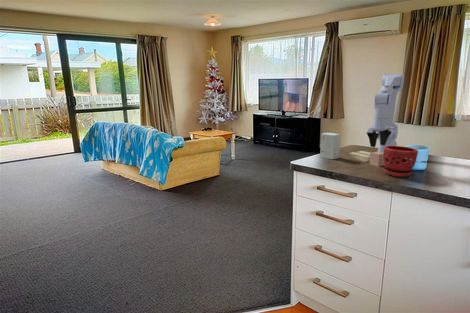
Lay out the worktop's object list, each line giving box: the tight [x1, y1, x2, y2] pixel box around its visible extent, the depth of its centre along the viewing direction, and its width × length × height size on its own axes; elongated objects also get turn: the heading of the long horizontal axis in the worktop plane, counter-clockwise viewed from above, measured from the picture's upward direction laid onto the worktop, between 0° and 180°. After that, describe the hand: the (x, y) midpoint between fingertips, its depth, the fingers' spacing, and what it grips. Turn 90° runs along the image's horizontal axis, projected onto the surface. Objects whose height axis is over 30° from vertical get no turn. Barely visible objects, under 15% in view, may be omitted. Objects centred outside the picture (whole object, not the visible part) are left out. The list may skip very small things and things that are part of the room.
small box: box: [319, 132, 341, 160], centre depth 167 cm, size 8×6×13 cm
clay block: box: [368, 151, 385, 167], centre depth 153 cm, size 5×5×6 cm
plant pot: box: [382, 145, 419, 178], centre depth 137 cm, size 13×13×12 cm
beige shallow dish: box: [347, 150, 371, 163], centre depth 166 cm, size 11×11×3 cm
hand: (377, 146), depth 152 cm, fingers open, 7 cm apart
